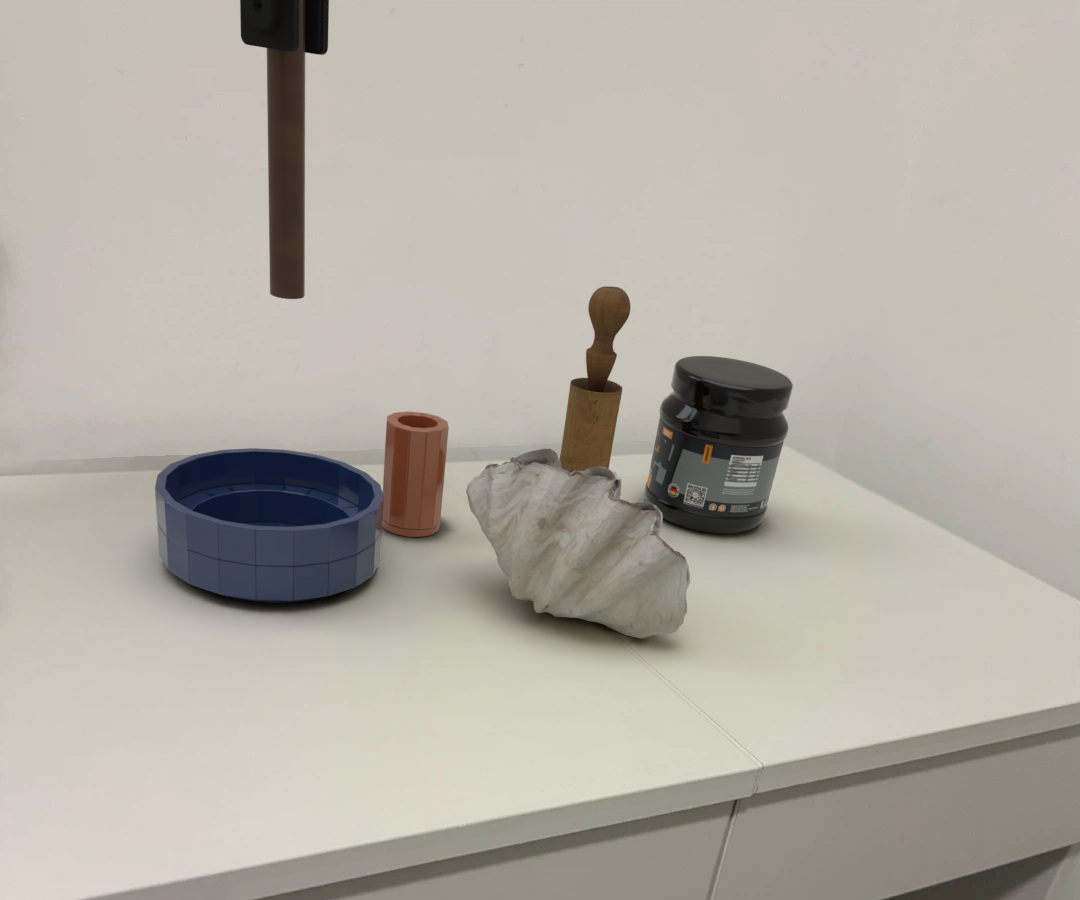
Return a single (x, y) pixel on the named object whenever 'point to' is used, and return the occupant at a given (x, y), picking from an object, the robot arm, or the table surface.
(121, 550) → the table surface
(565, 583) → the seashell
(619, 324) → the mortar and pestle
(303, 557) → the bowl
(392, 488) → the holder
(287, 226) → the stick
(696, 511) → the supplement container
